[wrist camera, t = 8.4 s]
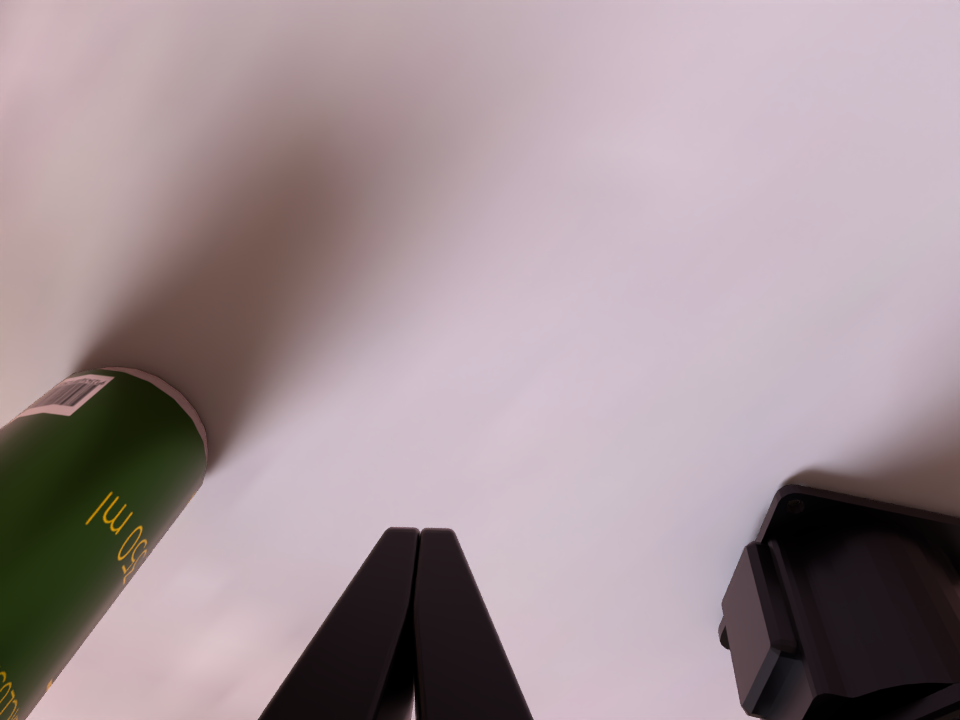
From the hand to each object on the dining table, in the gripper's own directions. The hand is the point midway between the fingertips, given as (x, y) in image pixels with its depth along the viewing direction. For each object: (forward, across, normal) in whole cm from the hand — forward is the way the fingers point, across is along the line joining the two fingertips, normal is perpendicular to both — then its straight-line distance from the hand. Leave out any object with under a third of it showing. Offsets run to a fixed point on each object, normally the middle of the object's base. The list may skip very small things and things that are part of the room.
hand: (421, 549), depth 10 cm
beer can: (+13, +10, +9) cm, 19 cm away
